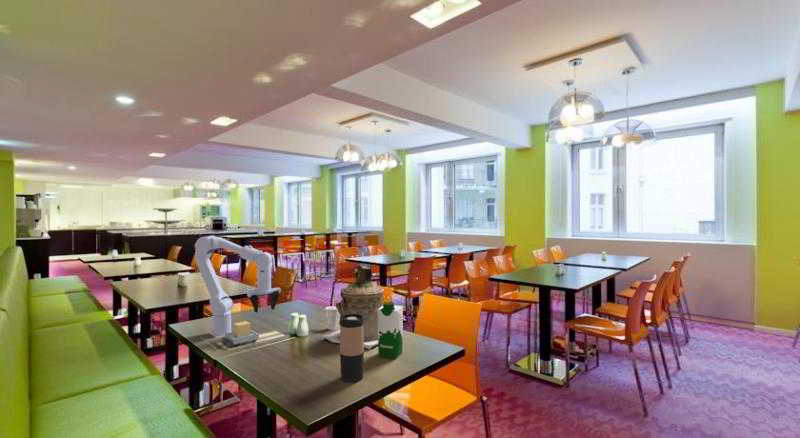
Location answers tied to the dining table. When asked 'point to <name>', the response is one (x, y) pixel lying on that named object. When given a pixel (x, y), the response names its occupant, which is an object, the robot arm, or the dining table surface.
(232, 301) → the robot arm
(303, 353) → the dining table surface
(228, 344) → the track
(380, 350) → the milk carton
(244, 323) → the ochre block
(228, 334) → the blue square tray
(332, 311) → the smoothie
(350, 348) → the travel mug
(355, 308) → the cookie jar
